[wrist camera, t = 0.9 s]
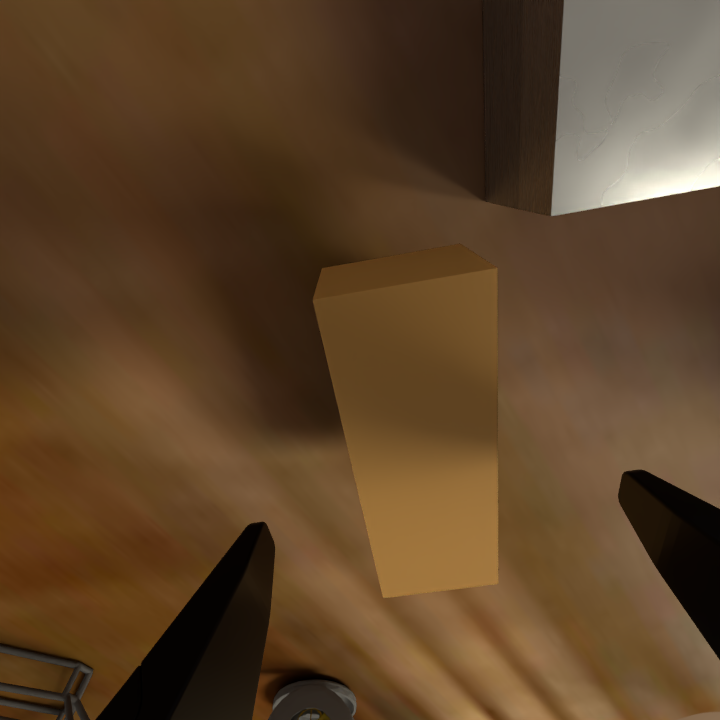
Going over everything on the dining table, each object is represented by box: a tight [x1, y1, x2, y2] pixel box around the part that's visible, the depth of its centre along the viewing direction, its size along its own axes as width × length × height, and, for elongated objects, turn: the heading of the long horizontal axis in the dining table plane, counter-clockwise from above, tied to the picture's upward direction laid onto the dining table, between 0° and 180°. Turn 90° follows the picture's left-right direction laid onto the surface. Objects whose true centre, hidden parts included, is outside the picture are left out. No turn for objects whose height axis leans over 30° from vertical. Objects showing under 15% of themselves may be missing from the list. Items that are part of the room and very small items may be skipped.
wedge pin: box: [313, 244, 498, 598], centre depth 14 cm, size 4×11×7 cm, turn 10°
